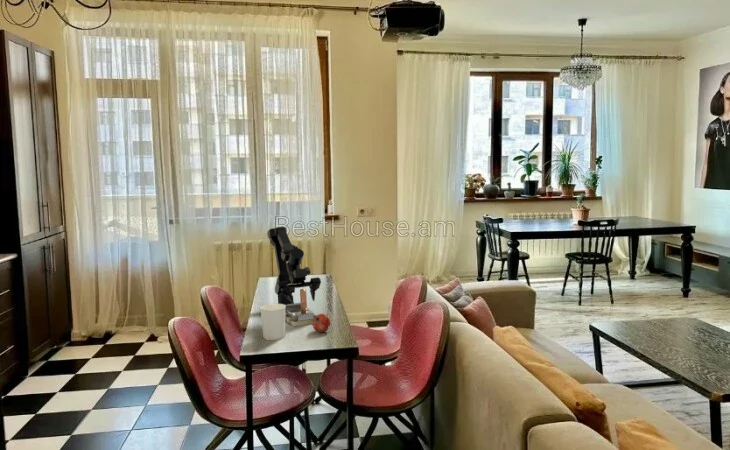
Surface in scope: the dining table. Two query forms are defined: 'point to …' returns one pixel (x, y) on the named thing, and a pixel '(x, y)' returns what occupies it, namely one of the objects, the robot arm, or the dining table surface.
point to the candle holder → (273, 321)
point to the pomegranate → (321, 323)
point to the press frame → (290, 314)
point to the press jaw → (303, 308)
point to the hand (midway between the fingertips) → (303, 302)
